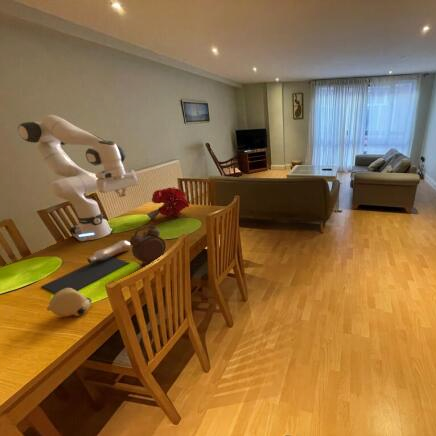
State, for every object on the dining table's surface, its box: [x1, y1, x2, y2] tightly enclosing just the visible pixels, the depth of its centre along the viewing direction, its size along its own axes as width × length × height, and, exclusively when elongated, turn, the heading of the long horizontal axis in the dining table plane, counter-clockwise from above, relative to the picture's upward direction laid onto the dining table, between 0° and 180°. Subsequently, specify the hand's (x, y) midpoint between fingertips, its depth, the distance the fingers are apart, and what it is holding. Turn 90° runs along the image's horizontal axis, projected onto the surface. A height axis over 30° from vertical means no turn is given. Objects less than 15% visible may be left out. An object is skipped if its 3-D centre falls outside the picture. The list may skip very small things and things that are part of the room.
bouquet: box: [146, 186, 190, 220], centre depth 180 cm, size 22×24×30 cm
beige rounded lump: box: [46, 288, 93, 319], centre depth 91 cm, size 10×12×11 cm
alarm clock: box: [129, 225, 166, 266], centre depth 122 cm, size 14×7×20 cm, turn 150°
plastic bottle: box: [86, 239, 132, 264], centre depth 129 cm, size 6×7×20 cm
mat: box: [41, 257, 129, 295], centre depth 116 cm, size 18×28×1 cm, turn 156°
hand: (122, 196), depth 136 cm, fingers closed
